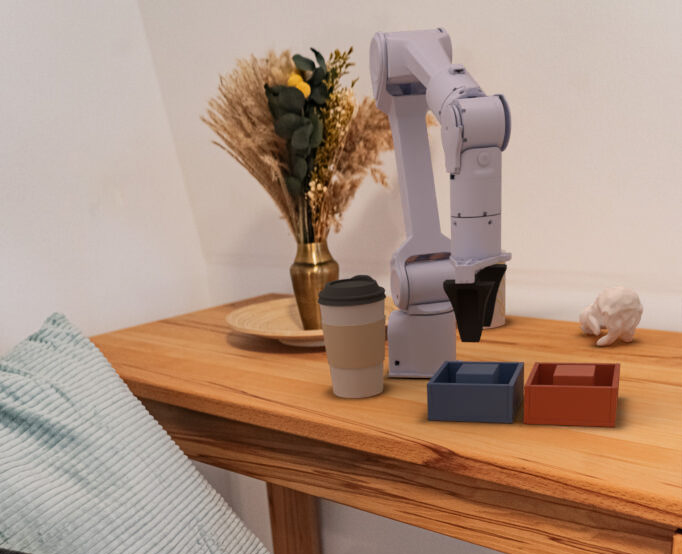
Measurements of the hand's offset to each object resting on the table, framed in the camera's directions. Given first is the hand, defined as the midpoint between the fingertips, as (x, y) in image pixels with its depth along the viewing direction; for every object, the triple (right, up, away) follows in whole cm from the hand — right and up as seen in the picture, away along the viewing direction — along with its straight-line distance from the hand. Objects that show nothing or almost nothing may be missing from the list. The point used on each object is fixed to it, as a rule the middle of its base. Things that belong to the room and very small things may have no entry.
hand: (476, 333), depth 101 cm
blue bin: (+1, -8, +4) cm, 9 cm away
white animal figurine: (+25, +5, +30) cm, 39 cm away
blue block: (+1, -8, +4) cm, 9 cm away
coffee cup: (-14, -5, +15) cm, 21 cm away
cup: (+8, +11, +46) cm, 48 cm away
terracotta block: (+12, -9, 0) cm, 15 cm away
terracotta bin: (+12, -9, 0) cm, 15 cm away
